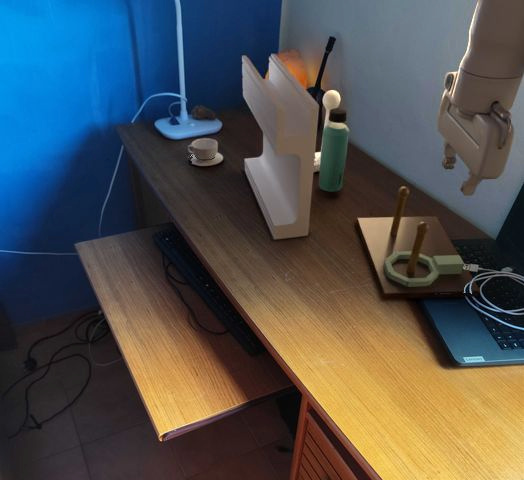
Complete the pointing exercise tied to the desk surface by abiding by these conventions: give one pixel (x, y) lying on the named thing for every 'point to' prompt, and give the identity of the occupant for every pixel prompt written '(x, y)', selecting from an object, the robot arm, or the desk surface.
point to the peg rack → (419, 242)
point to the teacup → (205, 152)
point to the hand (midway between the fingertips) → (456, 180)
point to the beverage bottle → (334, 151)
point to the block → (282, 147)
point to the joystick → (327, 118)
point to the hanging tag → (435, 265)
